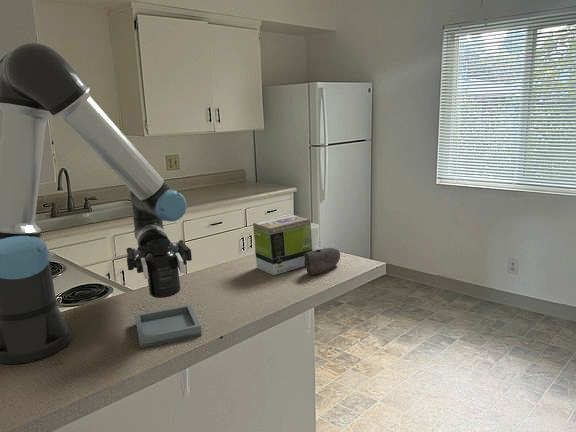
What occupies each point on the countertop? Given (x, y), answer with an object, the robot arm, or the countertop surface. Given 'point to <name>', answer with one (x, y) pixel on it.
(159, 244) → the supplement bottle
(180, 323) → the tray
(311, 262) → the perforated stone tool
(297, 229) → the tea box
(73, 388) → the countertop surface
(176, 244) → the robot arm
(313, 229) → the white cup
